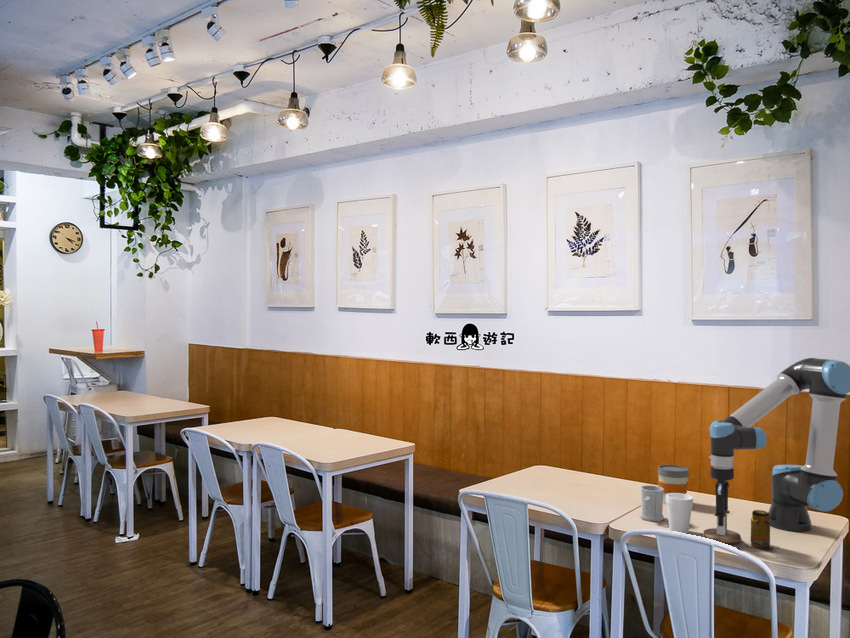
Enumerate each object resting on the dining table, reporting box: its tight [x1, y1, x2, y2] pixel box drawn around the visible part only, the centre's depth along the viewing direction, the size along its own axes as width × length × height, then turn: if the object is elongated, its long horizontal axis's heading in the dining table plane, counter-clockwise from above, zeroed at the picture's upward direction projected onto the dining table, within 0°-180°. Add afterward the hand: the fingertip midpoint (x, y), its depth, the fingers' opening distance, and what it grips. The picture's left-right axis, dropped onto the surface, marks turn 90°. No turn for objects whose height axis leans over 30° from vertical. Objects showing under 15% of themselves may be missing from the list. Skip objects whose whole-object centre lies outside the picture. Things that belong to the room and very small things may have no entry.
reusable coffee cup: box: [657, 464, 690, 506], centre depth 287 cm, size 13×13×15 cm
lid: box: [703, 512, 741, 543], centre depth 238 cm, size 12×12×9 cm
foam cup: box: [666, 493, 694, 534], centre depth 249 cm, size 10×9×13 cm
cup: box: [639, 484, 664, 522], centre depth 264 cm, size 10×9×12 cm
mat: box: [702, 535, 743, 549], centre depth 238 cm, size 12×12×1 cm
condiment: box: [746, 509, 779, 552], centre depth 234 cm, size 7×8×12 cm
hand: (721, 532), depth 238 cm, fingers closed on lid, 3 cm apart
